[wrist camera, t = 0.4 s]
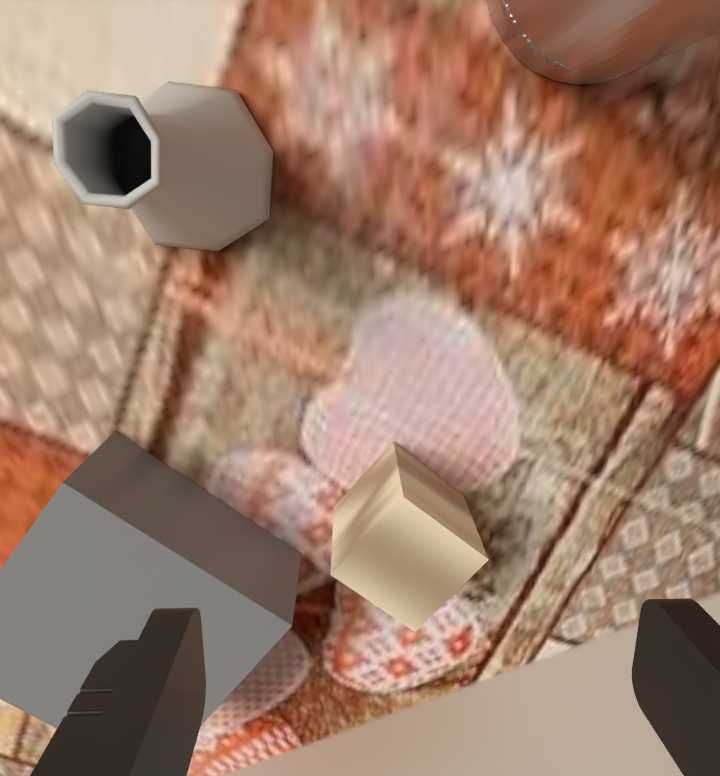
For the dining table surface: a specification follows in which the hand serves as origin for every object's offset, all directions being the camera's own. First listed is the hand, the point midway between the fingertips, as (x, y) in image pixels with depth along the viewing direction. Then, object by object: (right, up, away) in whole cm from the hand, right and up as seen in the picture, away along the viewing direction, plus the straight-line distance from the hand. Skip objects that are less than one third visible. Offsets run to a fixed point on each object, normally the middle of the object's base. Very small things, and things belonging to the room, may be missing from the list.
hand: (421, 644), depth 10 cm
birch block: (+1, -1, +21) cm, 21 cm away
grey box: (-13, -5, +22) cm, 26 cm away
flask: (-9, +15, +16) cm, 23 cm away
